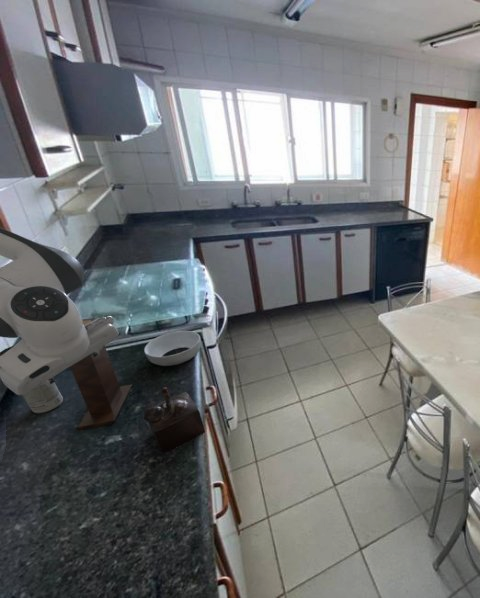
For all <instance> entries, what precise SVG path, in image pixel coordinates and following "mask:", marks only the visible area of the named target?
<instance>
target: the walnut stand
mask: <svg viewBox="0 0 480 598" xmlns="http://www.w3.org/2000/svg"><path fill="white" fill-rule="evenodd" d="M98 318H99V317H95V318H85V319H83V318H82V320H83V321H85V320H91V321H93V320H95V319H98ZM99 352H100V354H99V355H97V356H96V357H94V358H93V357H92V356H91V355H88V356H87V357H85V358H83V359H82V360H80V361H78V362H77V363H75V364H73V365H72V366H70V367H69V368H70V371H71V372H72V375H73V377H74V380H75V383H76V384H77V386H78V389H79V392H80V394H81V397H82V398H83V401H84V403H85V406H86V408H87V411H86V412H85V414H84V415H83V417H82V419H81V420H80V422H79V423H78V426H77V429H78V431H83V430H88V429H93V428H98V427H102V426H106V425H112V424H115V423H116V422H117V419H118V417H119V415H120V413H121V411H122V409H123V406H124V405H125V403H126V401H127V398H128V396H129V394H130V392H131V390H132V388H133V384H127V385H121V386H120V383H119V382H118V379H117V375H116V373H115V370H114V367H113V364H112V362H111V359H110V356H109V353H108V351H107V348H106V345H105V346H103V347H102V349H101V350H100V351H99Z"/></svg>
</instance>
